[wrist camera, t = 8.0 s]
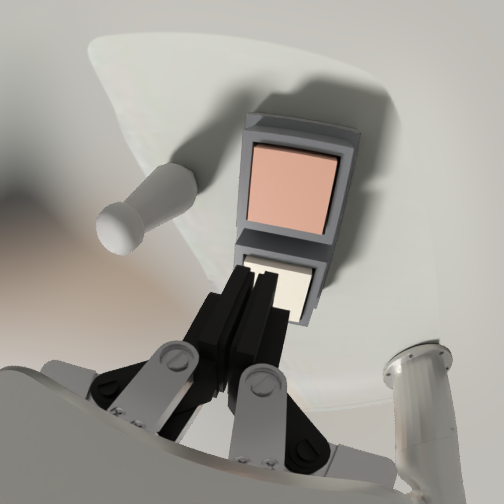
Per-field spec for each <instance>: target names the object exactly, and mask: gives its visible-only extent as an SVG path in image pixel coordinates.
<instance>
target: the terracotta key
mask: <svg viewBox="0 0 504 504" xmlns="http://www.w3.org/2000/svg"><path fill="white" fill-rule="evenodd" d="M336 165H337V158H336V155H332V154H327V153H322V152H317V151H312V150H306V149H301V148H295V147H289V146H282V145H276V144H269V143H261V142H260V143H259V144H258V145H256V146H255V147H254V154H253V165H252V176H251V187H250V199H249V210H248V221H253V222H258V223H263V224H269V225H274V226H279V227H284V228H290V229H295V230H300V231H305V232H310V233H315V234H320V235H322V232H323V227H324V223H325V218H326V214H327V209H328V205H329V200H330V195H331V191H332V186H333V181H334V176H335V171H336Z"/></svg>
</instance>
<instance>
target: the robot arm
mask: <svg viewBox="0 0 504 504" xmlns="http://www.w3.org/2000/svg"><path fill="white" fill-rule="evenodd" d="M278 276H279V274H278V273H274V272H269V271H265V272H264V274H261V273H259V274H258V277H257V279H256V282H255V285H254V279H255V272H252V271H251V268H250V267H246V266H242V265H236V266H235V268H234V270H233V272H232V274H231V276H230V278H229V280H228V282H227V284H226V286H225V288H224V290H223V292H222V294H217V293H213V292H210V293H209V294H208V296H207V298H206V299H205V301H204V303H203V305H202V307H201V308H200V310H199V312H198V314H197V316H196V317H195V319H194V321H193V323H192V325H191V327H190V328H189V330H188V332H187V334H186V335H185V337H184V339H183V341H170V342H167V343H165V344H163V345H162V346H161V347H160V348H158V350H157V351H156V352H155V353H154V354H153V356H152V357H151V358H150V359H149V360H147V361H144V362H141V363H137V364H134V365H130V366H127V367H124V368H120V369H116V370H112V371H109V372H105V373H103V374H97V373H96V371H94V370H89V369H86V368H82V367H78V366H75V365H72V364H68V363H65V362H62V361H58V360H52V361H49V362H47V363H46V364H44V366H43V367H42V369H41V371H40V372H38V371H36V370H33V369H30V368H26V367H21V366H7V367H4V368H2V369H0V504H466V499H465V493H464V487H463V481H462V474H461V465H460V455H459V445H458V435H457V427H456V420H455V413H454V407H453V401H452V396H451V390H450V385H449V380H448V376H447V372H448V370H449V369H450V367H451V365H452V355H451V352H450V350H449V349H448V348H446V347H445V346H442V345H439V344H425V345H420V346H416V347H413V348H410V349H408V350H406V351H404V352H402V353H400V354H398V355H397V356H395V357H394V358H393V359H392V360H391V361H390V362H389V363H388V364H387V365H386V367H385V369H384V372H383V380H384V383H385V384H386V386H388V387H389V388H391V389H393V394H394V411H395V463H394V462H393V461H392V460H391V459H389V458H387V457H383V456H379V455H375V454H371V453H368V452H364V451H361V450H357V449H354V448H350V447H347V446H344V445H341V444H339V445H334V444H331V443H329V442H327V440H326V439H325V437H324V436H323V435H322V434H321V433H320V432H319V430H318V429H317V428H316V427H315V426H314V425H313V423H312V422H311V421H310V420H309V419H308V418H307V416H306V415H305V414H304V413H303V412H302V410H301V409H300V408H299V407H298V405H297V404H296V403H295V402H294V401H293V399H292V398H291V397H290V396H289V394H288V393H287V381H286V377H285V376H284V374H283V373H282V372H281V371H280V370H279V369H278V367H279V362H280V358H281V354H282V349H283V344H284V340H285V335H286V330H287V325H288V321H289V316H290V310H285V309H281V308H276V307H273V303H274V297H275V292H276V287H277V282H278ZM227 383H228V407H229V409H230V410H231V412H232V413H233V415H234V416H235V417H234V425H233V431H232V438H231V445H230V452H229V458H228V459H224V458H221V457H217V456H214V455H211V454H207V453H204V452H201V451H198V450H195V449H192V448H189V447H186V446H184V445H181V444H179V442H180V441H181V439H182V438H183V436H184V435H185V433H186V431H187V430H188V428H189V427H190V425H191V424H192V422H193V421H194V419H195V418H196V416H197V414H198V413H199V411H200V410H201V408H202V405H203V404H205V403H207V402H210V401H211V400H212V397H214V398H217V395H218V392H219V391H220V392H224V391H225V388H226V385H227ZM397 473H398V475H399V476H400V477H401V478H402V480H404V481H405V482H406V483H407V484H409V485H410V486H411V487H412V492H410V493H408V494H403V493H401V492H400V491H397V490H395V489H393V486H394V483H395V480H396V476H397Z"/></svg>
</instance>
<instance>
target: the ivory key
mask: <svg viewBox="0 0 504 504" xmlns="http://www.w3.org/2000/svg"><path fill="white" fill-rule="evenodd" d="M244 266H246V267H250V268H251V271H252V272H255V279H254V285H255V282H256V279H257V277H258V274H259V273H261V274H264V272H265V271H269V272H274V273H278V274H279V276H278V282H277V287H276V292H275V297H274V303H273V307H276V308H281V309H285V310H290V316H289V321H294V322H299V319H300V316H301V312H302V309H303V305H304V302H305V298H306V295H307V291H308V287H309V283H310V280H311V276H312V268H311V267H306V266H301V265H296V264H291V263H287V262H282V261H277V260H272V259H267V258H262V257H257V256H252V255H247V256H246V258H245V261H244Z"/></svg>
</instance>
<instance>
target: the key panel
mask: <svg viewBox="0 0 504 504" xmlns="http://www.w3.org/2000/svg"><path fill="white" fill-rule="evenodd" d="M360 134H361V133H360V132H359V131H358V130H357V129H354V128H349V127H345V126H340V125H335V124H330V123H325V122H320V121H315V120H309V119H303V118H297V117H290V116H283V115H275V114H267V113H258V112H252V113H248V114H246V119H245V129H244V130H243V137H242V150H241V163H240V177H239V191H238V205H237V220H236V226H237V239H236V243H235V252H234V268H235V266H236V265H242V266H244V261H245V258H246V256H247V255H252V256H257V257H262V258H267V259H272V260H277V261H282V262H287V263H291V264H296V265H301V266H306V267H311V268H312V276H311V280H310V283H309V287H308V291H307V295H306V298H305V302H304V305H303V309H302V312H301V316H300V319H299V322H294V321H288V323H291V324H296V325H301V326H306V327H308V324H309V321H310V318H311V315H312V311H313V308H315V309H316V308H317V305H318V302H319V299H320V295H321V292H322V289H323V286H324V282H325V279H326V276H327V272H328V269H329V266H330V262H331V259H332V255H333V251H334V248H335V244H336V240H337V237H338V233H339V229H340V225H341V221H342V217H343V213H344V209H345V205H346V201H347V197H348V192H349V188H350V183H351V179H352V174H353V170H354V165H355V160H356V155H357V150H358V144H359V139H360ZM260 142H261V143H269V144H276V145H282V146H289V147H295V148H301V149H306V150H312V151H317V152H322V153H327V154H332V155H336V158H337V165H336V171H335V176H334V181H333V186H332V191H331V195H330V200H329V205H328V209H327V214H326V218H325V223H324V227H323V232H322V235H320V234H315V233H310V232H305V231H300V230H295V229H290V228H284V227H279V226H274V225H269V224H263V223H258V222H253V221H248V210H249V199H250V187H251V176H252V165H253V154H254V147H255V146H256V145H258V144H259V143H260ZM233 270H234V269H233Z"/></svg>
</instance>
